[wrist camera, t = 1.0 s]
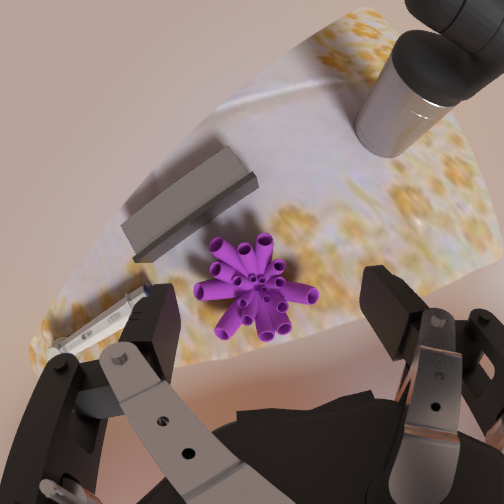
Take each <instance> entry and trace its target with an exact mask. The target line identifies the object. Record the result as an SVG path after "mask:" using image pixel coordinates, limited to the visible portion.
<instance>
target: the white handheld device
mask: <svg viewBox="0 0 504 504" xmlns="http://www.w3.org/2000/svg"><path fill="white" fill-rule="evenodd" d="M151 289H152V286H151V285H150V283H146V284H144V285H143V286H141V287H139V288H138V289H136V290H135V291H133V292H132V293H131V292H129V293H125V297H124V298H122V299H121V300H120V301H118V302H117V303H115V304H114V305H112V306H111V307H110V308H108V309H107V310H105V311H104V312H103V313H101V314H100V315H98V316H97V317H96V318H94V319H93V320H91V321H90V322H89V323H87V324H86V325H84V326H83V327H82V328H80V329H79V330H78V331H76V332H75V333H73V334H72V335H71V336H69V337H59V338H57V339H56V340H55V341H53V343H52V346H51V347H49V349H48V351H47V353H46V355H47V360H48V361H49V360H50V359H51V358H53V357H54V356H56V355H58V354H61V353H71V354H73V355H75V356H76V357H77V359H78V360H79V357H80V355H81V351H83V350H84V349H86V348H88V347H90V346H92V345H93V344H95V343H97V342H99V341H101V340H102V339H104V338H106V337H108V336H110V335H111V334H113V333H115V332H117V331H119V330H120V329H122V328H124V327H125V325H126V323H127V321H128V318H129V316H130V314H131V312H132V309H133V307H134V305H135V304H136V303H137V302H138V301H139V300H140V299H141V298H142V297H148V296H149V294H150V292H151Z"/></svg>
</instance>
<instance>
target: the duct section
mask: <svg viewBox="0 0 504 504" xmlns="http://www.w3.org/2000/svg"><path fill="white" fill-rule="evenodd" d="M257 188H259V185H258V181H257V177H256V175H255V174H254V173H253V171H252V172H251V173H248V172H247V171H246V169H245V168H244V166H243V165H242V164H241V162H240V161H239V160H238V158H237V157H236V155H235V154H234V153H233V151H232V150H231V149H230V147H229V146H227V147H225V148H224V149H222V150H221V151H219V152H218V153H216V154H215V155H213V156H212V157H210V158H209V159H207V160H206V161H204V162H203V163H202V164H200V165H199V166H197V167H196V168H194V169H193V170H192V171H190V172H189V173H187V174H186V175H185V176H183V177H182V178H180V179H179V180H178V181H176V182H175V183H174V184H172V185H171V186H170V187H168V188H167V189H166V190H164V191H163V192H162V193H160V194H159V195H158V196H156V197H155V198H154V199H153V200H151V201H150V202H149V203H147V204H146V205H145V206H144V207H142V208H141V209H140V210H139V211H137V212H136V213H135V214H134V215H132V216H131V217H130V218H129V219H128V220H126V221H125V222H124V223H123V224H122V225H121V227H122V229H123V231H124V233H125V235H126V237H127V238H128V240H129V242H130V244H131V246H132V248H133V249H134V251H135V253H136V255H135V256H134V257H133V260H134V262H135V263H152V262H154V261H155V260H156V259H158V258H159V257H161V256H162V255H163V254H165V253H166V252H167V251H169V250H170V249H171V248H173V247H174V246H175V245H177V244H178V243H180V242H181V241H182V240H184V239H185V238H187V237H188V236H189V235H191V234H192V233H193V232H195V231H196V230H198V229H199V228H201V227H202V226H203V225H205V224H206V223H208V222H209V221H210V220H212V219H213V218H215V217H216V216H218V215H219V214H221V213H222V212H223V211H225V210H226V209H228V208H229V207H231V206H232V205H234V204H235V203H237V202H238V201H240V200H241V199H242V198H244V197H245V196H247V195H248V194H250V193H251V192H253V191H254V190H256V189H257Z"/></svg>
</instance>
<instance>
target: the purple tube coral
mask: <svg viewBox="0 0 504 504" xmlns="http://www.w3.org/2000/svg"><path fill="white" fill-rule="evenodd" d="M209 250H210V252H211V253H212V254H213V255H214V257H215V258H216V259H217V260H218V261H219V262H218V261H216V262H213V263H212V264H211V265H210V268H209V272H210V274H211V275H212V276H213V277H215V278H217V279H215V280H208V281H203V282H199V283H197V284H196V285H195V286H194V295H195V297H196V298H197V299H198V300H216V299H227V298H236V300H235V301H234V302H233V303H232V305H231V306H230V307H229V308H228V310H227V311H226V312H225V313H224V315H223V316H222V318H221V319H220V320H219V322H218V324H217V325H216V327H215V329H214V332H215V334H216V336H217V337H218V338H220V339H222V340H228V339H229V338H230V337H231V336H232V335H233V334H234V333H235V332H236V331H237V329H238V328H239V327H240V326H241V324H244V325H246V326H248V325H251V324H252V323H253V321H254V319H255V323H256V329H257V334H258V337H259V339H260V340H261V341H264V342H268V341H271V340H272V339H273V338H274V336H275V330H276V332H277V333H278V334H280V335H285V334H288V333H289V332H290V331H291V329H292V325H291V322H290V320H289V318H288V316H287V314H286V311H287V310H288V307H289V306H288V303H287V301H291V302H296V303H302V304H308V305H312V304H315V303H316V302H317V300H318V298H319V292H318V290H317V289H316V288H315V287H312V286H309V285H306V284H302V283H297V282H291V281H285V279H284V278H283V277H280V276H279V275H280V274H281V273H282V272H283V271H284V269H285V267H286V264H285V262H284V261H283V260H282V259H276V260H274V261H273V262H271V260H272V253H273V238H272V236H271V235H269V234H268V233H261V234H259V235H258V236H257V238H256V241H255V246H254V249H253V248H252V246H251V245H250V244H249V243H245V242H244V243H241V244H240V245H239V246H238V247H237V249H236V248H235V247H234V246H232V245H231V244H230V243H229V242H228V241H226V240H225V239H224V238H222V237H216V238H214V239H213V240H212V241H211V242H210V244H209Z"/></svg>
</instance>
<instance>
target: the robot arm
mask: <svg viewBox="0 0 504 504" xmlns="http://www.w3.org/2000/svg"><path fill="white" fill-rule="evenodd" d="M405 4H406V7H407V9H408V11H409V12H410V13H411V14H412V15H413V16H414V17H415V18H416V19H418V20H419V21H421V22H422V23H424V24H425V25H426V26H428V27H429V28H431V29H433V30H434V31H436V32H438V33H439V34H441V35H439V34H436V33H432V32H428V31H423V30H411V31H407V32H405V33H403V34H402V35H401V36H400V37H399V38H398V40H397V41H396V43H395V45H394V47H393V49H392V51H391V53H390V55H389V57H388V59H387V61H386V63H385V65H384V67H383V69H382V71H381V72H380V74H379V76H378V78H377V80H376V82H375V84H374V86H373V87H372V89H371V91H370V93H369V95H368V97H367V99H366V100H365V102H364V104H363V106H362V108H361V110H360V111H359V113H358V115H357V117H356V120H355V130H356V134H357V136H358V138H359V140H360V141H361V143H362V144H363V145H364V146H365V148H367V149H368V150H369V151H370V152H372V153H374V154H375V155H378V156H381V157H385V158H392V157H396V156H398V155H400V154H401V153H403V152H404V151H405V150H406V149H407V148H408V147H410V146H411V145H412V144H413V143H414V142H416V141H417V140H418V139H419V138H420V137H421V136H422V135H424V134H425V133H426V132H427V131H428V130H429V129H430V128H432V127H433V126H434V125H435V124H436V123H437V122H438V121H439V120H441V119H442V118H443V117H444V116H445V115H446V114H447V113H448V112H449V111H450V110H452V109H453V108H454V107H455V106H456V105H457V104H459V103H460V102H461V101H463V100H467V99H469V98H471V97H472V96H474V95H475V94H476V93H477V92H479V91H480V90H481V89H482V88H484V87H485V86H486V85H488V84H489V83H491V82H492V81H493V80H495V79H496V78H498V77H499V76H500V75H501V74H503V73H504V0H405ZM359 302H360V308H361V311H362V312H363V314H364V316H365V317H366V318H367V320H368V322H369V323H370V325H371V326H372V328H373V330H374V331H375V333H376V334H377V336H378V338H379V339H380V341H381V342H382V344H383V345H384V347H385V349H386V350H387V352H388V354H389V355H390V357H391V359H392V360H393V362H394V361H397V360H401V359H405V361H406V362H405V364H404V367H403V370H402V374H401V378H400V382H399V386H398V389H397V393H396V396H395V400H394V401H393V400H387V399H375V398H374V396H373V394H372V391H371V390H369V391H365V392H360V393H357V394H352V395H348V396H343V397H340V398H338V399H335V400H333V401H331V402H328V403H326V404H324V405H322V406H319V407H317V408H314V409H312V410H289V409H288V410H287V409H276V408H269V409H259V410H247V411H237V412H236V413H237V421H234V422H231V423H228V424H226V425H223V426H221V427H219V428H217V429H215V430H214V431H212V432H210V430H208V428H207V427H205V425H204V424H203V423H202V422H201V421H200V420H199V419H198V418H197V416H196V415H195V414H194V413H193V412H192V411H191V410H190V409H189V408H188V406H187V405H186V404H185V403H184V402H183V401H182V399H181V398H180V397H179V396H178V395H177V393H176V392H175V391H174V390H173V389H172V387H171V386H170V383H171V377H172V372H173V366H174V361H175V355H176V350H177V345H178V339H179V334H180V329H181V319H180V313H179V309H178V305H177V300H176V296H175V291H174V287H173V285H172V283H168V284H154V285H153V287H152V289H151V292H150V294H149V296H148V297H142V298H141V299H140V300H139V301H138V302H137V303H136V304H135V305H134V307H133V309H132V312H131V314H130V316H129V318H128V321H127V323H126V325H125V327H124V329H123V332H122V334H121V336H120V339H119V341H118V342H117V343H114V344H111V345H109V346H108V347H106V348H105V349H104V350H103V351H102V353H101V354H100V357H99V359H98V360H94V361H89V362H84V363H79V361H78V359H77V357H76V356H75V355H73V354H71V353H61V354H58V355H56V356H54V357H53V358H51V359H50V360H49V361H48V363H47V364H46V366H45V368H44V370H43V372H42V374H41V376H40V379H39V381H38V383H37V385H36V387H35V389H34V391H33V394H32V396H31V398H30V401H29V403H28V405H27V407H26V410H25V412H24V415H23V417H22V420H21V422H20V425H19V427H18V430H17V433H16V435H15V438H14V441H13V444H12V447H11V450H10V453H9V456H8V459H7V462H6V466H5V469H4V473H3V477H2V480H1V484H0V504H103V503H102V502H101V500H100V499H99V498H98V497H97V496H95V490H96V482H97V476H98V469H99V463H100V457H101V451H102V446H103V441H104V436H105V431H106V426H107V422H108V418H109V417H114V416H120V415H126V417H127V419H128V420H129V422H130V424H131V425H132V427H133V429H134V430H135V432H136V434H137V435H138V437H139V438H140V440H141V442H142V443H143V445H144V446H145V448H146V449H147V450H148V452H149V453H150V455H151V457H152V458H153V460H154V461H155V462H156V464H157V465H158V467H159V468H160V469H161V471H162V472H163V473H164V475H165V477H164V478H163V479H162V480H161V481H160V482H159V483H158V484H157V485H156V486H155V487H154V488H153V489H152V490H151V491H150V492H149V493H148V494H146V495H145V496H144V497H143V498H142V499H141V500H140V501H139V502H138V503H137V504H504V325H503V324H502V323H501V322H500V321H499V320H498V319H497V318H496V317H495V316H494V315H493V314H492V313H491V312H489V311H487V310H484V309H474V310H472V311H471V313H470V315H469V318H468V320H454V318H453V316H452V315H451V314H450V313H448V312H447V311H445V310H443V309H439V308H429V307H428V306H427V305H426V303H425V302H424V301H423V300H422V299H421V298H420V297H419V296H418V295H417V294H416V293H414V291H413V290H412V289H411V288H409V286H408V285H407V284H406V283H405V282H404V281H403V280H402V279H401V278H399V277H397V276H395V275H392V274H391V273H390V272H389V271H388V270H387V269H386V268H385V267H384V266H383V265H376V266H367V267H365V269H364V272H363V279H362V285H361V292H360V299H359ZM484 353H485V354H486V356H487V357H488V358H489V360H490V361H491V362H492V364H493V365H494V368H495V374H494V377H493V379H492V380H491V379H490V378H489V377H488V375H487V374H486V372H485V371H484V369H483V368H482V367H481V365H480V364H479V362H480V360H481V359H482V357H483V355H484ZM461 394H462V396H463V398H464V399H465V401H466V403H467V404H468V406H469V408H470V410H471V412H472V413H473V415H474V417H475V419H476V421H477V423H478V425H479V426H480V428H481V430H482V432H483V434H484V436H485V443H484V442H481V441H479V440H477V439H475V438H472V437H470V436H468V435H465V434H464V433H462V432H459V431H458V423H459V414H460V404H461Z"/></svg>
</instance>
